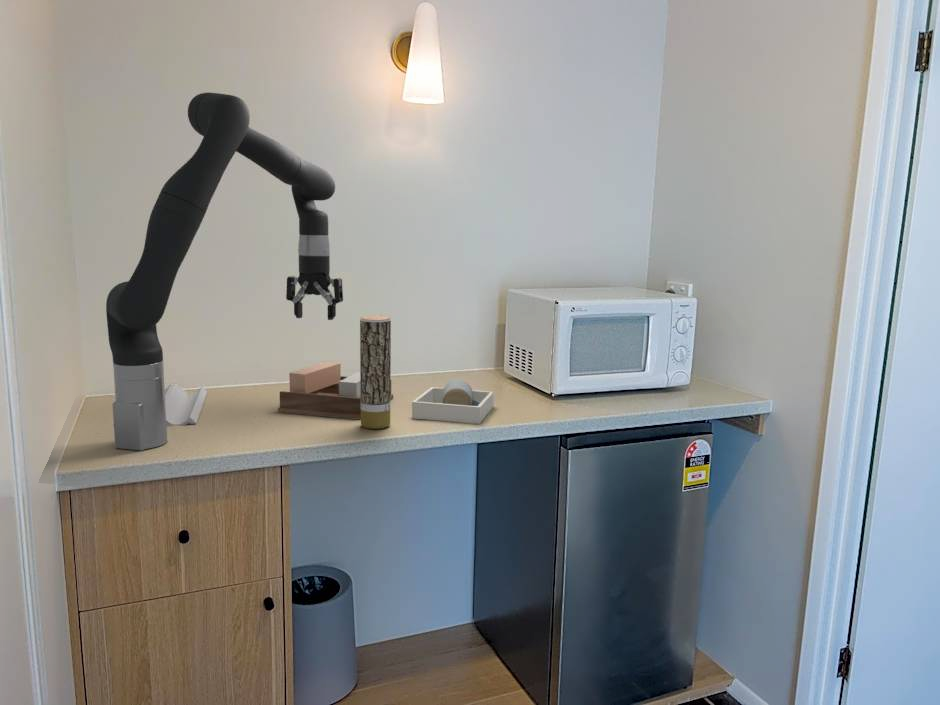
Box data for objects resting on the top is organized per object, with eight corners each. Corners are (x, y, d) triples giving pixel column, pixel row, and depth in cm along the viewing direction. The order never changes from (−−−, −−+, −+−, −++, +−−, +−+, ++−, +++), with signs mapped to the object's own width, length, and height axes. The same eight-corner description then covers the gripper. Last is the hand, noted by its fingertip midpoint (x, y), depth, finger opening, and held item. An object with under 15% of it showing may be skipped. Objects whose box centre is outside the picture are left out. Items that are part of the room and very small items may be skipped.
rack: (362, 419, 171) (362, 398, 170) (277, 411, 176) (277, 391, 175) (393, 398, 192) (393, 379, 191) (316, 392, 197) (316, 374, 196)
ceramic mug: (441, 416, 175) (442, 385, 174) (442, 408, 183) (443, 378, 182) (485, 418, 175) (486, 387, 174) (484, 409, 183) (485, 380, 182)
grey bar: (356, 403, 174) (356, 382, 173) (339, 401, 175) (338, 381, 174) (379, 388, 189) (379, 370, 188) (363, 387, 190) (363, 369, 189)
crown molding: (195, 427, 164) (195, 412, 163) (138, 430, 161) (137, 414, 160) (206, 395, 193) (206, 381, 193) (158, 397, 190) (157, 383, 190)
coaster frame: (479, 423, 169) (480, 407, 169) (411, 418, 173) (412, 401, 172) (493, 406, 185) (493, 391, 185) (431, 401, 189) (431, 387, 188)
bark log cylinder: (362, 430, 162) (362, 320, 157) (358, 422, 168) (358, 316, 164) (392, 429, 163) (393, 319, 159) (387, 421, 170) (387, 315, 165)
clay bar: (326, 380, 193) (325, 361, 192) (340, 381, 191) (340, 363, 190) (289, 392, 178) (289, 372, 177) (305, 394, 176) (304, 374, 175)
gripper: (346, 254, 181) (347, 318, 183) (294, 252, 184) (295, 315, 186) (334, 255, 173) (335, 322, 176) (280, 253, 176) (281, 319, 179)
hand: (314, 318), depth 181 cm, fingers open, 8 cm apart
